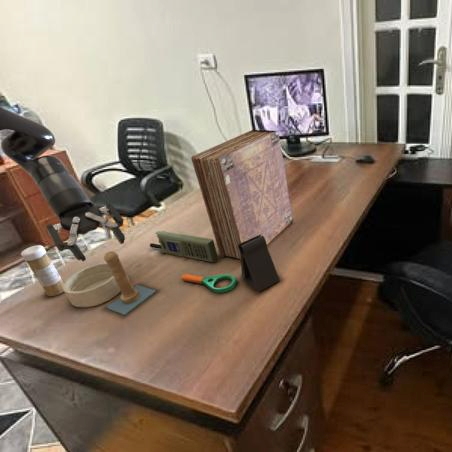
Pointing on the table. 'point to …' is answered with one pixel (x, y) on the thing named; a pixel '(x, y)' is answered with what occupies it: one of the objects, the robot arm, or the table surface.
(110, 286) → the bowl
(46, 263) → the sprinkles bottle
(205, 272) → the table surface
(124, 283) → the wooden pestle
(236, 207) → the book
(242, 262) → the phone stand
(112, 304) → the rest mat
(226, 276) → the magnifying glass
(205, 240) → the handheld radio
